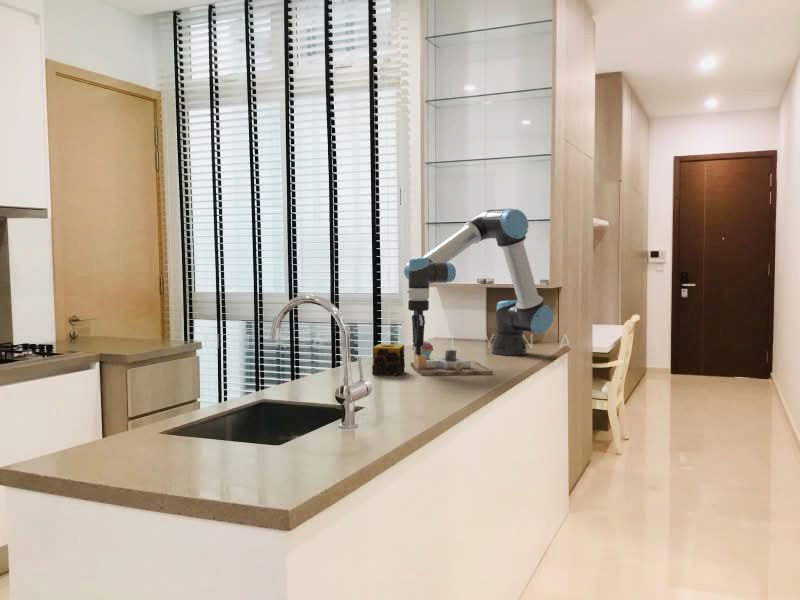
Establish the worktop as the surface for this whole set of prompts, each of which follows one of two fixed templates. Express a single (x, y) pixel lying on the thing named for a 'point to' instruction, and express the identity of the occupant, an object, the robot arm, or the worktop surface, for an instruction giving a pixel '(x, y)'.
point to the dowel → (458, 366)
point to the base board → (451, 356)
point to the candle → (388, 359)
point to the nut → (439, 362)
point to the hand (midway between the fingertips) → (417, 363)
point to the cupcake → (426, 349)
